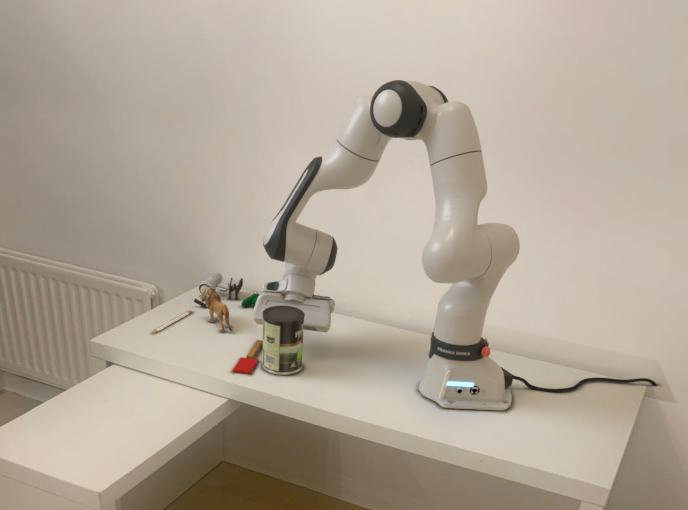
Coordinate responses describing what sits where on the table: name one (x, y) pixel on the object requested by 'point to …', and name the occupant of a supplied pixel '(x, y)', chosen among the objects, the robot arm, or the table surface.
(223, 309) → the lion figurine
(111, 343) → the table surface
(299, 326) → the coffee can
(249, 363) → the spatula
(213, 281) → the clip-on lamp
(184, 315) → the pencil
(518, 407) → the table surface
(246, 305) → the gaming controller
